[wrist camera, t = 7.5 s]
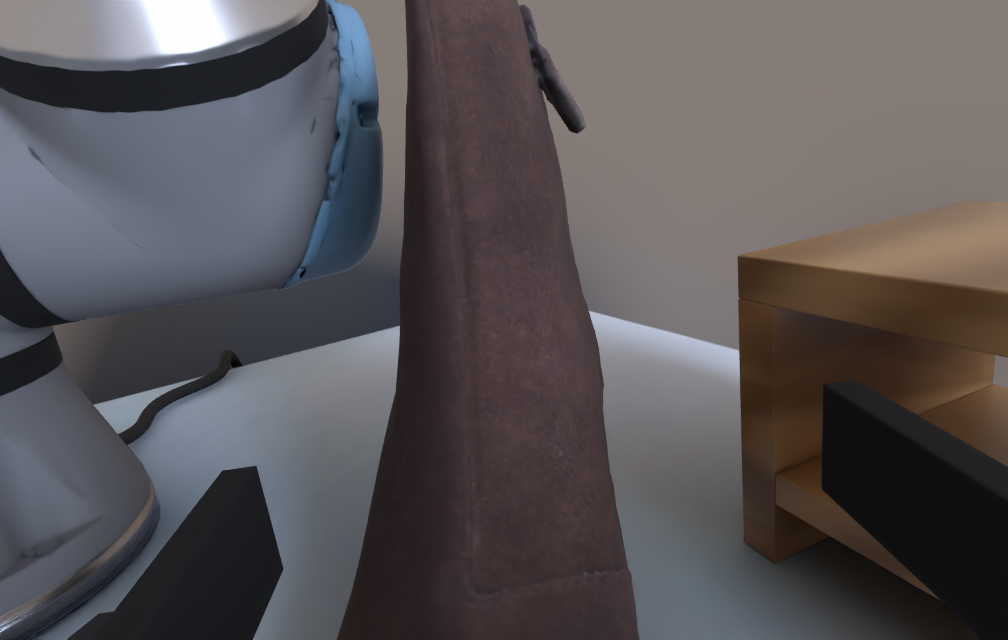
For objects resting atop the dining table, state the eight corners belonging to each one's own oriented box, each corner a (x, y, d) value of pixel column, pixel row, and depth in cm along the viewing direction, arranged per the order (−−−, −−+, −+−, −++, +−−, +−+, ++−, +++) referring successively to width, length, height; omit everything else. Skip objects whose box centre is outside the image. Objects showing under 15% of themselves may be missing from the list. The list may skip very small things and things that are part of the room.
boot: (109, 1377, 8) (-1164, -717, 3) (438, 467, 31) (366, 50, 26) (780, 1447, 7) (765, -1530, 2) (608, 455, 30) (570, 19, 25)
